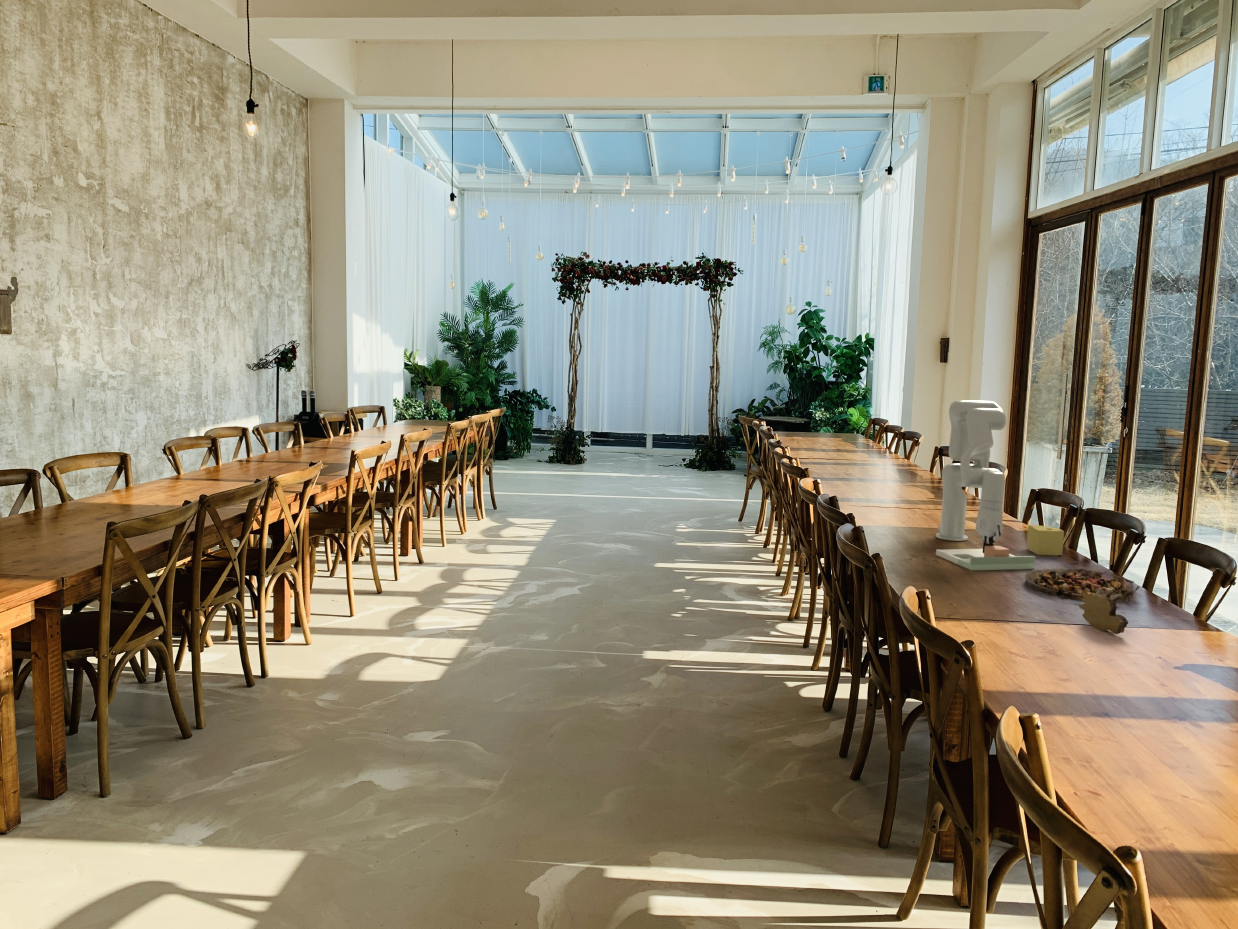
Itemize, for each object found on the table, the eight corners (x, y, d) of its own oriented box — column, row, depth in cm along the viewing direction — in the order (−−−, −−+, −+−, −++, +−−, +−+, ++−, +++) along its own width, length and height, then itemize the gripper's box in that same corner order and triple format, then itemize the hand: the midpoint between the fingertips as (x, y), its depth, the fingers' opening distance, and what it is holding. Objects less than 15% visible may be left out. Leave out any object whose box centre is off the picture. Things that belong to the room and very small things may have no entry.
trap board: (935, 554, 338) (936, 543, 338) (994, 553, 343) (995, 542, 342) (971, 570, 315) (972, 558, 314) (1034, 568, 319) (1035, 556, 319)
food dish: (1154, 613, 271) (1156, 588, 270) (1038, 606, 278) (1040, 582, 277) (1114, 580, 305) (1116, 558, 304) (1012, 575, 312) (1014, 554, 311)
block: (983, 559, 324) (984, 546, 323) (998, 559, 325) (999, 545, 324) (993, 563, 318) (994, 549, 317) (1008, 562, 319) (1009, 549, 318)
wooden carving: (1132, 638, 242) (1135, 602, 241) (1119, 639, 241) (1122, 603, 240) (1085, 620, 258) (1088, 587, 257) (1072, 621, 257) (1075, 587, 255)
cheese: (1052, 550, 352) (1054, 525, 350) (1063, 556, 341) (1065, 531, 340) (1025, 549, 353) (1027, 524, 351) (1035, 555, 342) (1037, 530, 341)
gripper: (970, 501, 331) (967, 549, 333) (994, 508, 316) (990, 558, 318) (988, 501, 332) (985, 548, 334) (1013, 508, 317) (1009, 558, 320)
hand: (987, 553), depth 326 cm, fingers closed
